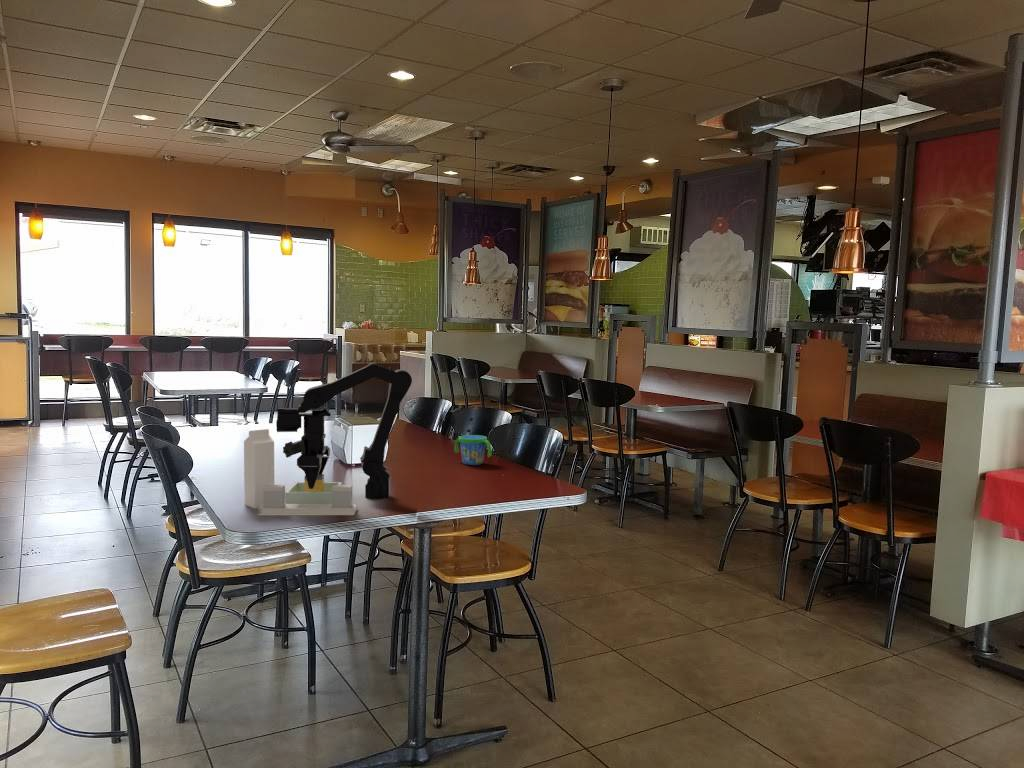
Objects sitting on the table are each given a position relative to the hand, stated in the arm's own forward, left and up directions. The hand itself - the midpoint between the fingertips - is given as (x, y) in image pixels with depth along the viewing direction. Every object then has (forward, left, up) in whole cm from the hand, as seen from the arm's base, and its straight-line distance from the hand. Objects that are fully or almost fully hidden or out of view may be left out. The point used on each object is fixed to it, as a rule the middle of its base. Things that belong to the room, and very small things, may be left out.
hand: (314, 485), depth 218 cm
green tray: (0, 0, -5) cm, 5 cm away
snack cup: (-47, -61, -5) cm, 77 cm away
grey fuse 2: (-10, +14, -4) cm, 18 cm away
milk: (+14, +6, -5) cm, 16 cm away
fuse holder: (-1, +14, -5) cm, 15 cm away
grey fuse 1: (+8, +14, -4) cm, 17 cm away
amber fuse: (0, 0, -4) cm, 4 cm away
